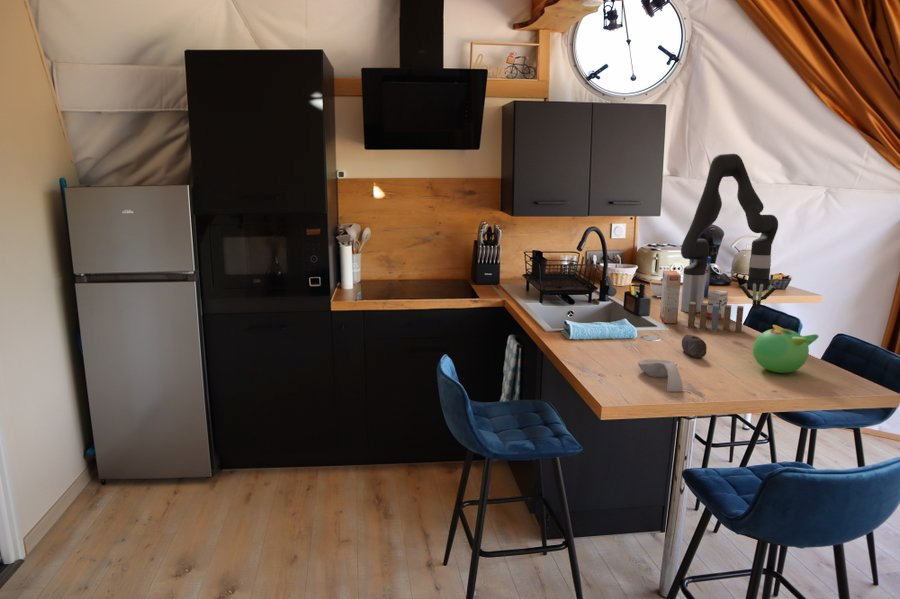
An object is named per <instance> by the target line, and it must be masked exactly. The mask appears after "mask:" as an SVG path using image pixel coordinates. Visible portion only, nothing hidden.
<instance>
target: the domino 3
mask: <svg viewBox="0 0 900 599" xmlns="http://www.w3.org/2000/svg"><path fill="white" fill-rule="evenodd" d="M718 316H719V304H713V311H712V319H711V327H710V330H711V331H714V330H717V331H718V326H719V320H718Z"/></svg>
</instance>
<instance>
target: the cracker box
mask: <svg viewBox="0 0 900 599" xmlns="http://www.w3.org/2000/svg"><path fill="white" fill-rule="evenodd" d="M662 278H663V282H662V295H661V298H660V309H659V310H660V312H659V317H660V319H661V321H662V323H663V324H671V323H674V324H673V325H675V324H676V325H677V324H678V316H679V314H678V313H679V303H680V292H681V291H680V290H681V280H682V279H681V278H682V276H681V274H680V273H679V272H678V271H676V270H663V271H662Z"/></svg>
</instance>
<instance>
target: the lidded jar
mask: <svg viewBox="0 0 900 599" xmlns="http://www.w3.org/2000/svg"><path fill="white" fill-rule="evenodd" d="M662 282H663V277H661V278H660V279H653V280H650V291H651V294H653V296H654V295H655V296H661V295H662ZM655 296H654V297H655Z"/></svg>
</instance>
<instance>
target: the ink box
mask: <svg viewBox="0 0 900 599" xmlns="http://www.w3.org/2000/svg"><path fill="white" fill-rule="evenodd" d="M728 297H729V291H725V290H719V289H715V290H713V291H708V297H707V298H708V299H707V303H708V307H707V320H708V319H709V320H712V311H713V304H719V316H718V321H719V320H721V319H724V318H723V317H724V311H725V305H728Z"/></svg>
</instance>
